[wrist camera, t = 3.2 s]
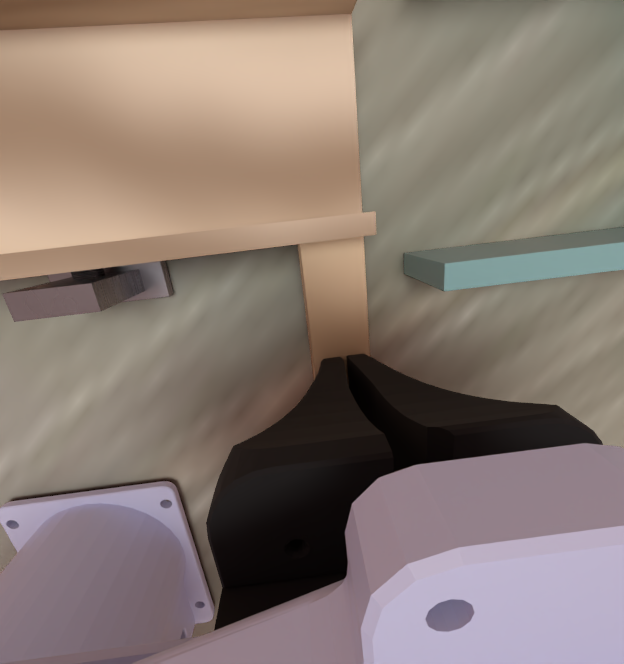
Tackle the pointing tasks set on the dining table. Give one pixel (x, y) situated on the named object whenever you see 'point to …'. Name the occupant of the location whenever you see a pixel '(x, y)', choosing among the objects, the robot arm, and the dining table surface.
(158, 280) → the fulcrum
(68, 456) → the dining table surface
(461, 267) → the teal u-shaped frame
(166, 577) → the robot arm
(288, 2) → the lever
